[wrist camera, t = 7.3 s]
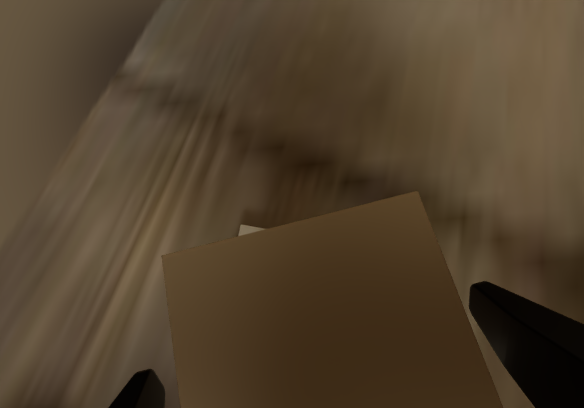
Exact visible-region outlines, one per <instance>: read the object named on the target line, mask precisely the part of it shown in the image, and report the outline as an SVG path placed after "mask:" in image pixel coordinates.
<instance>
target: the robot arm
mask: <svg viewBox="0 0 584 408" xmlns="http://www.w3.org/2000/svg"><path fill="white" fill-rule="evenodd" d="M469 309H470V312H471V314H472V316H473V317H474V319H475V320H476V322H477V324H478V325H479V327H480V329H481V330H482V332H483V333H484V335H485V337H486V338H487V340H488V342H489V343H490V345H491V346H492V348H493V350H494V351H495V353H496V354H497V356H498V358H499V359H500V361H501V362H502V364H503V365H504V367H505V368H506V369H507V371H508V372H509V374H510V375H511V376H512V378H513V379H514V380H515V382H516V383H517V384H518V386H519V387H520V388H521V390H522V391H523V392H524V393H525V395H526V396H527V397H528V399H529V400H530V401H531V403H532V404H533V405H534V407H535V408H584V324H582V323H580V322H577V321H575V320H573V319H571V318H568V317H566V316H564V315H562V314H559V313H557V312H555V311H553V310H550V309H548V308H546V307H544V306H542V305H539V304H537V303H535V302H533V301H530V300H528V299H526V298H524V297H521V296H519V295H517V294H515V293H512V292H510V291H508V290H506V289H503V288H501V287H499V286H497V285H494V284H492V283H490V282H487V281H483V282H479V283H475V284H472V285H471V287H470V296H469ZM164 407H165V389H164V386H163V384H162V383H161V381H160V380H159V378H158V376H157V375H156V373H155V372H154V370H152V369H147V370H143V371H139V372H137V373H135V374H134V375H133V377H132V378H131V379H130V380H129V382H128V383H127V384H126V386H125V387H124V388H123V389H122V391H121V392H120V393H119V395H118V396H117V397H116V399H115V400H114V401H113V402H112V404H111V405H110V406H109V408H164Z"/></svg>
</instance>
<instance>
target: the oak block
mask: <svg viewBox="0 0 584 408" xmlns="http://www.w3.org/2000/svg"><path fill="white" fill-rule="evenodd" d="M162 263H163V271H164V279H165V287H166V295H167V303H168V311H169V319H170V327H171V335H172V343H173V351H174V359H175V367H176V375H177V383H178V392H179V400H180V408H503V406H502V404H501V401H500V398H499V396H498V393H497V391H496V388H495V386H494V383H493V381H492V378H491V376H490V373H489V371H488V368H487V366H486V363H485V360H484V358H483V355H482V353H481V350H480V348H479V345H478V343H477V340H476V338H475V335H474V333H473V330H472V328H471V325H470V322H469V320H468V317H467V315H466V312H465V310H464V307H463V305H462V302H461V300H460V297H459V295H458V292H457V289H456V287H455V284H454V282H453V279H452V277H451V274H450V272H449V269H448V267H447V264H446V262H445V259H444V257H443V254H442V251H441V249H440V246H439V244H438V241H437V239H436V236H435V234H434V231H433V229H432V226H431V224H430V221H429V219H428V216H427V213H426V211H425V208H424V206H423V203H422V201H421V198H420V196H419V193H418V191H414V192H411V193H407V194H403V195H399V196H395V197H391V198H387V199H383V200H379V201H375V202H371V203H367V204H363V205H359V206H355V207H351V208H347V209H344V210H340V211H336V212H332V213H328V214H324V215H320V216H316V217H312V218H308V219H304V220H300V221H296V222H292V223H288V224H284V225H280V226H276V227H273V228H269V229H265V230H261V231H257V232H253V233H249V234H245V235H241V236H237V237H233V238H229V239H225V240H221V241H217V242H213V243H209V244H205V245H202V246H198V247H194V248H190V249H186V250H182V251H178V252H174V253H170V254H166V255H162Z"/></svg>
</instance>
